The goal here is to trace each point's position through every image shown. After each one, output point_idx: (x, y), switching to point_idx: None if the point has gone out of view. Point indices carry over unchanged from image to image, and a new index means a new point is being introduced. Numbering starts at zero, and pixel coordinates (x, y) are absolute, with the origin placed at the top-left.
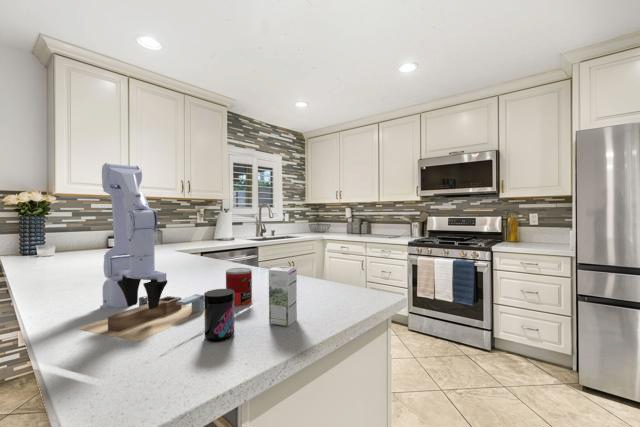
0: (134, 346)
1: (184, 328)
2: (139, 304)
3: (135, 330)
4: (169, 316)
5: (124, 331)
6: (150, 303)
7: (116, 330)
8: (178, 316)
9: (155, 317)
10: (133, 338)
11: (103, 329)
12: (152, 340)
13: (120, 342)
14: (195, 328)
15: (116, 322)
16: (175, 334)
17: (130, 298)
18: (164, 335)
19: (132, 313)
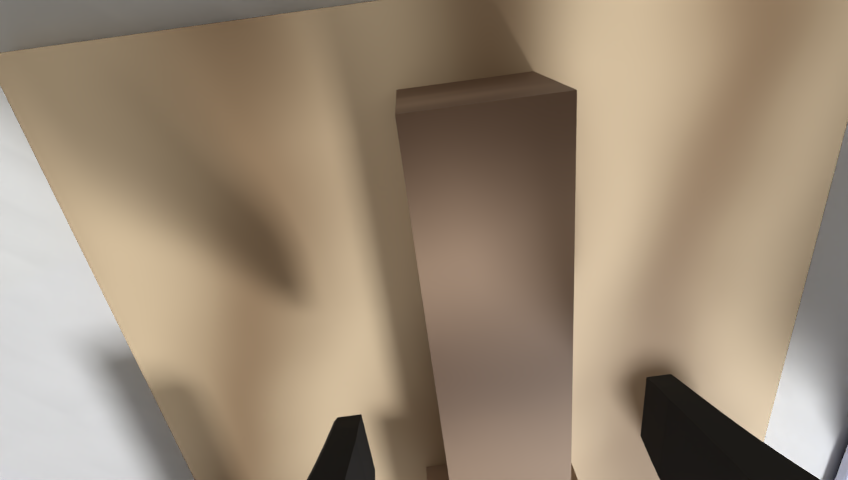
0: (9, 12)
1: (100, 390)
2: None
3: (295, 186)
4: None
5: (357, 127)
6: (313, 467)
7: (416, 89)
8: (305, 474)
9: None
10: (105, 70)
11: (595, 62)
12: (35, 163)
13: (213, 4)
14: (38, 419)
15: (418, 103)
16: (28, 306)
17: (694, 457)
18: (73, 261)
19: (422, 288)
